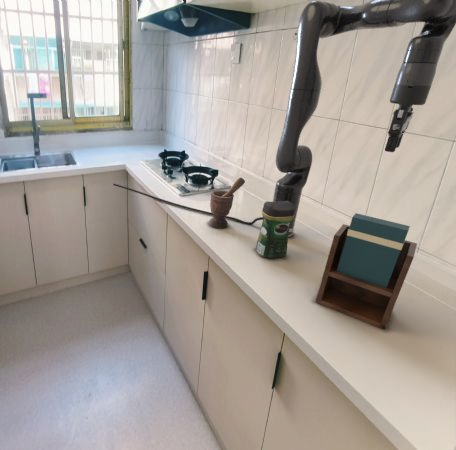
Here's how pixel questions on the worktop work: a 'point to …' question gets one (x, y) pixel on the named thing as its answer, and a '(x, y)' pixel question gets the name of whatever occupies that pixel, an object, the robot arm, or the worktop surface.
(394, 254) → the book
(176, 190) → the worktop surface
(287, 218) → the coffee jar
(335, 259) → the bookshelf
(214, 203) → the mortar and pestle
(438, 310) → the worktop surface
